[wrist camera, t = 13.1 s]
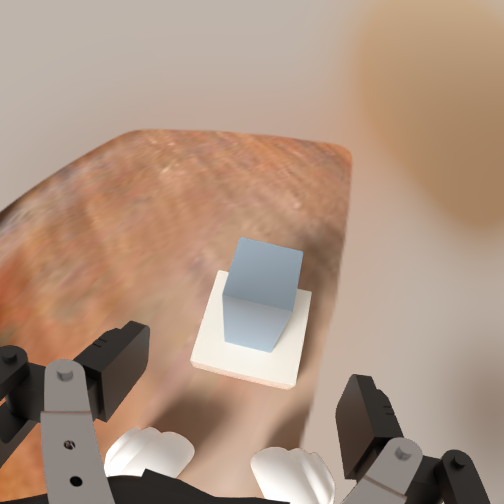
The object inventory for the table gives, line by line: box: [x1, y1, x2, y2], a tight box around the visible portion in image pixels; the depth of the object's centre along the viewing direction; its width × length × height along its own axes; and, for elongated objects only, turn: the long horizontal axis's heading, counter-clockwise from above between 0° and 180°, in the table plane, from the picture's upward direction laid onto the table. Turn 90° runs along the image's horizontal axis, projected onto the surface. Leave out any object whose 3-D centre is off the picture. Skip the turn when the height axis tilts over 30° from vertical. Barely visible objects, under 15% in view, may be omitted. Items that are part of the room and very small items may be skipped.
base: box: [190, 270, 312, 390], centre depth 27 cm, size 9×9×3 cm
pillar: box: [222, 237, 303, 353], centre depth 22 cm, size 4×4×10 cm
